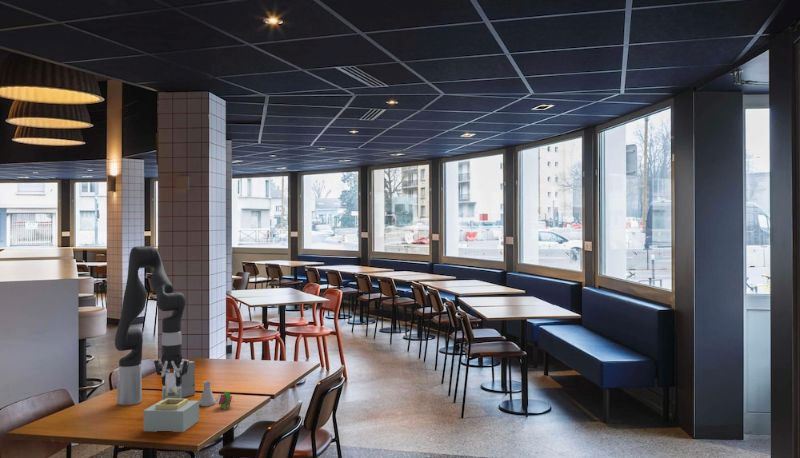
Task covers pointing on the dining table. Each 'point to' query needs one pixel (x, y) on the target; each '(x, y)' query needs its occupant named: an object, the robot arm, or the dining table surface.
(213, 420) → the dining table surface
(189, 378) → the skincare box
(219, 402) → the geometric puzzle
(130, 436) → the dining table surface
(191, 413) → the box with square opening
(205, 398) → the flask
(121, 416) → the dining table surface
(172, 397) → the cup
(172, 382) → the spout can
